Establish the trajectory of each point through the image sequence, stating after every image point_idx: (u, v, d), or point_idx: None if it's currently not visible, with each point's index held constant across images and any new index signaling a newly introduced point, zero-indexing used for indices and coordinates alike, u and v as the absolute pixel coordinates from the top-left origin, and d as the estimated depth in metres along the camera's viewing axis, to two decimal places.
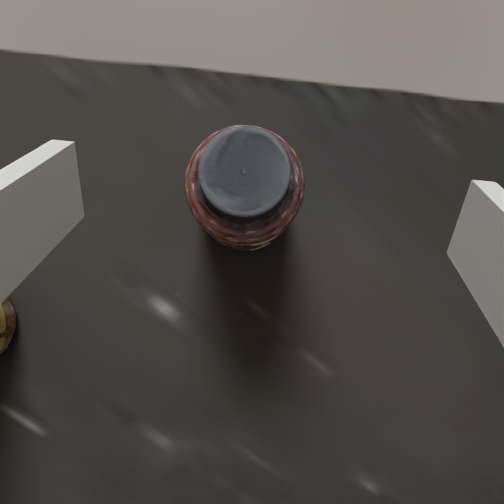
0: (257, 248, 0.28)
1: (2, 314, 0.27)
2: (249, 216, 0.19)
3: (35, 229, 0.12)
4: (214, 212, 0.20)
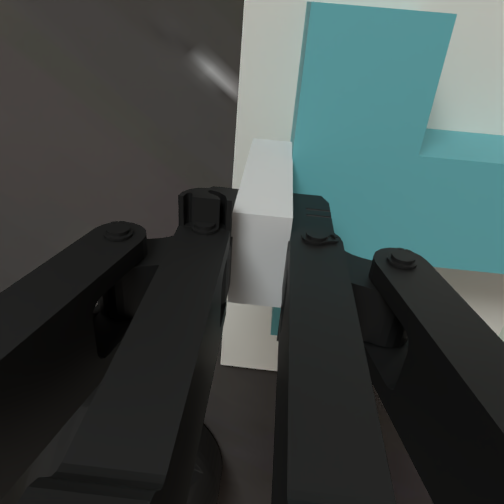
0: None
1: None
2: None
3: None
4: None
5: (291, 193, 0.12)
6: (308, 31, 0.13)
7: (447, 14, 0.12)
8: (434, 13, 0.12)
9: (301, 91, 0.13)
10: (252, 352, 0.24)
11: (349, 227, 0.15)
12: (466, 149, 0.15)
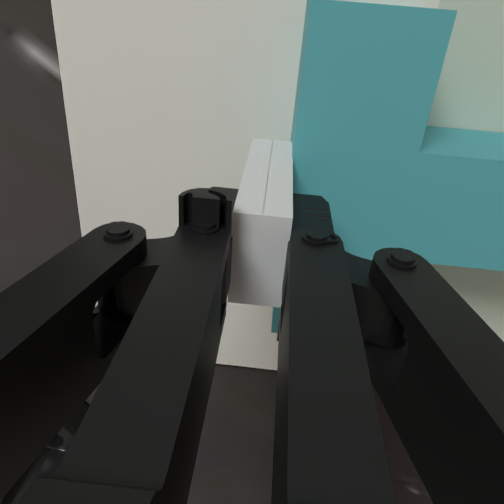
0: None
1: None
2: None
3: None
4: None
5: (291, 193, 0.12)
6: (308, 28, 0.13)
7: (447, 10, 0.12)
8: (434, 10, 0.12)
9: (301, 88, 0.13)
10: None
11: (349, 225, 0.15)
12: (466, 147, 0.15)
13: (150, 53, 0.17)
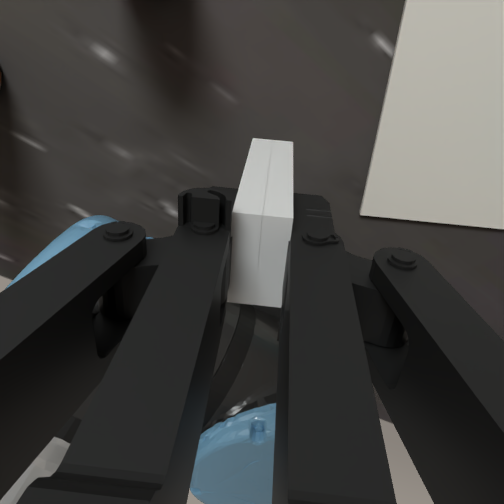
0: None
1: None
2: None
3: None
4: None
5: (291, 193, 0.12)
6: None
7: None
8: None
9: None
10: (380, 205, 0.43)
11: None
12: None
13: (444, 41, 0.35)
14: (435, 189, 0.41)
